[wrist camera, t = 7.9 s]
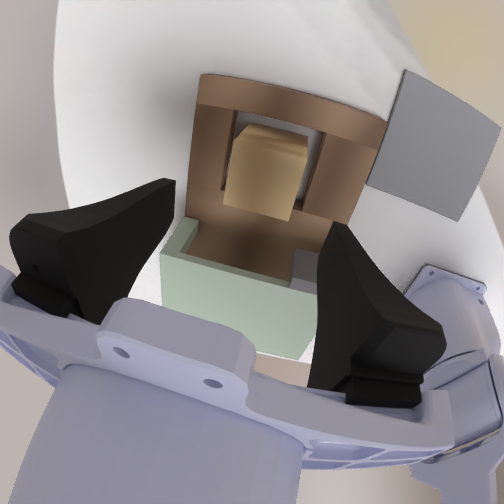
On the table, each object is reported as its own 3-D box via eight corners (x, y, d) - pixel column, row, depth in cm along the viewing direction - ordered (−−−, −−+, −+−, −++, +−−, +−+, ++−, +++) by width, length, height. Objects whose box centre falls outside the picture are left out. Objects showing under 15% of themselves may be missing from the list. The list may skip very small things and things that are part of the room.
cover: (338, 245, 21) (342, 289, 17) (301, 319, 27) (298, 360, 23) (185, 205, 21) (159, 241, 18) (181, 287, 27) (163, 324, 23)
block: (307, 136, 18) (307, 159, 14) (292, 186, 21) (288, 221, 17) (250, 122, 18) (233, 141, 14) (240, 172, 21) (222, 204, 17)
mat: (498, 126, 13) (501, 127, 13) (455, 219, 19) (457, 222, 19) (405, 70, 14) (406, 70, 13) (365, 182, 19) (366, 185, 19)
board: (382, 118, 16) (387, 123, 15) (300, 312, 29) (299, 323, 28) (208, 73, 16) (200, 74, 15) (186, 282, 29) (181, 292, 28)
